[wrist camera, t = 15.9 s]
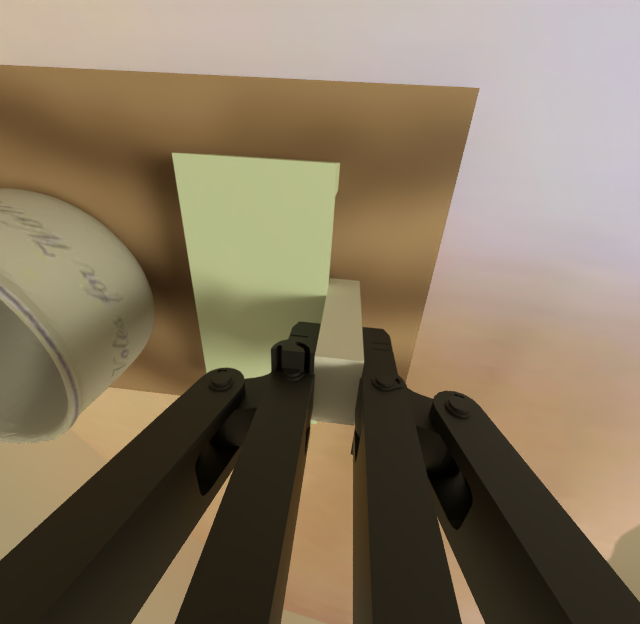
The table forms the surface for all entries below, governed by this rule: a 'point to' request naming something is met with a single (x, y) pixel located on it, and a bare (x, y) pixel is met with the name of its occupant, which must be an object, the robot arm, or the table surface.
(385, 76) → the table surface
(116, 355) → the teacup
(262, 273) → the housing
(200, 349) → the board
